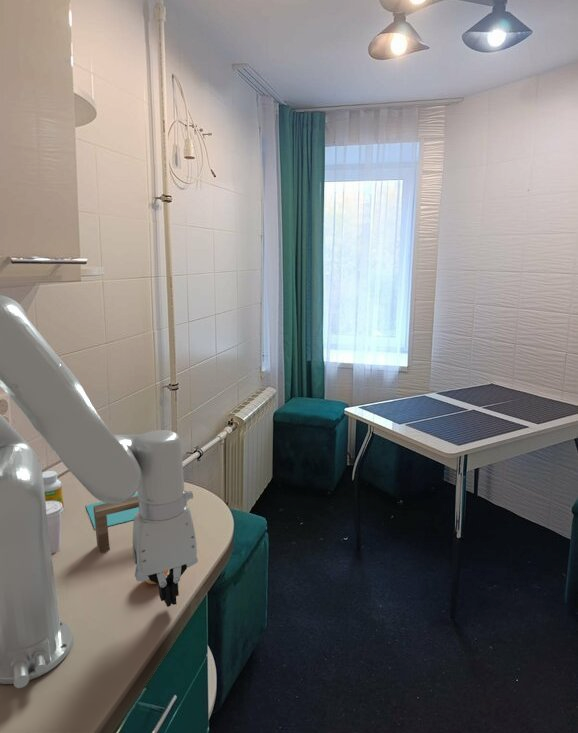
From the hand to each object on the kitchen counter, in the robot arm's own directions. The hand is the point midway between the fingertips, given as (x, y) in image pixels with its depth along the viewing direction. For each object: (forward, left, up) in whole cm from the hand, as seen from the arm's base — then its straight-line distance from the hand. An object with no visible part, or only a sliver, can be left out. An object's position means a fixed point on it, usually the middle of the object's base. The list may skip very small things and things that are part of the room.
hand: (169, 600), depth 90 cm
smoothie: (+31, +16, -2) cm, 35 cm away
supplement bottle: (+49, +14, -2) cm, 51 cm away
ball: (+9, 0, +1) cm, 9 cm away
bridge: (+26, 0, -2) cm, 26 cm away
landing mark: (+41, 0, -2) cm, 41 cm away
